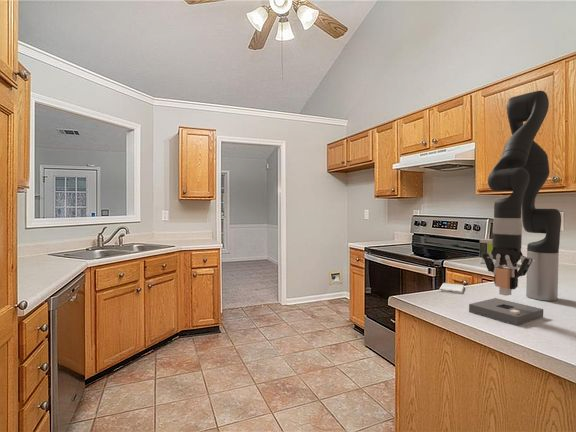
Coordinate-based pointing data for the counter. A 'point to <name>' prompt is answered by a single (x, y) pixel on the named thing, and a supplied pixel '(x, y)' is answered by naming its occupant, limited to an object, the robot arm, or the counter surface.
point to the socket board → (506, 311)
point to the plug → (503, 281)
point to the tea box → (486, 249)
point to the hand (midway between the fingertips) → (505, 287)
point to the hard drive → (452, 288)
